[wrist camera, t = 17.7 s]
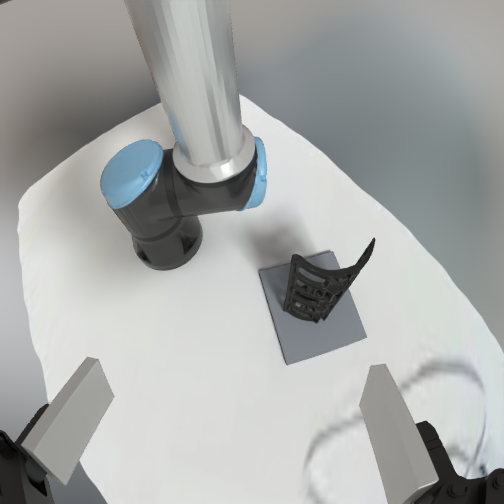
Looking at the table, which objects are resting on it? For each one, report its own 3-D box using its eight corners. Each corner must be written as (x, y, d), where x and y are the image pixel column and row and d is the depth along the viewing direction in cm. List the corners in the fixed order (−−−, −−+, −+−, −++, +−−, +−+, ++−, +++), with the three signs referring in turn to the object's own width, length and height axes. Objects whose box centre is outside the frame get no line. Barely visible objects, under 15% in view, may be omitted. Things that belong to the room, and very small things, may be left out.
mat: (259, 273, 53) (259, 271, 52) (332, 253, 54) (333, 251, 53) (286, 365, 45) (287, 364, 44) (365, 338, 46) (366, 337, 45)
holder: (329, 273, 51) (356, 210, 33) (349, 307, 48) (391, 257, 30) (276, 299, 49) (280, 243, 32) (296, 336, 46) (314, 300, 28)
